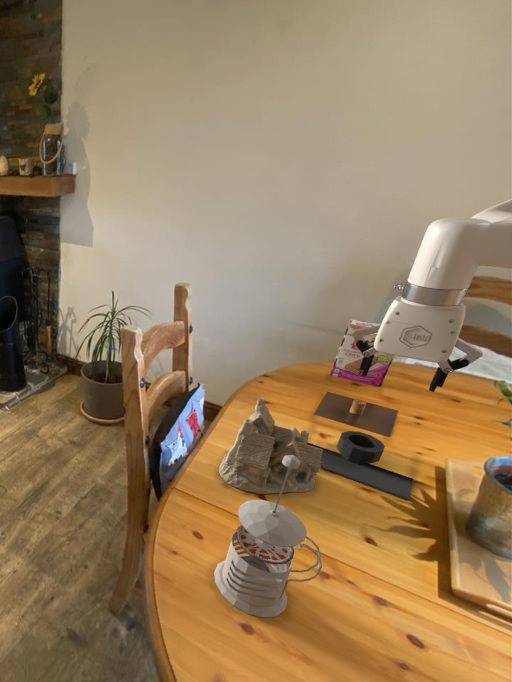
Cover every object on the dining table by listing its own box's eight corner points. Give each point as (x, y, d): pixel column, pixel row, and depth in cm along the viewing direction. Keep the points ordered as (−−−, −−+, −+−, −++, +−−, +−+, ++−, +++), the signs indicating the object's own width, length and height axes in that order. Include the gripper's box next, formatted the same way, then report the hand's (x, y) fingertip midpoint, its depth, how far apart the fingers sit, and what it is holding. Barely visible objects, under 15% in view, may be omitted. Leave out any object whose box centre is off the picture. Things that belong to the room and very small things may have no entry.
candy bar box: (328, 379, 115) (347, 324, 108) (331, 372, 119) (349, 318, 111) (380, 391, 108) (404, 333, 101) (382, 383, 112) (405, 327, 104)
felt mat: (418, 453, 87) (419, 452, 87) (408, 500, 76) (409, 499, 76) (315, 421, 99) (316, 420, 98) (294, 458, 88) (295, 456, 88)
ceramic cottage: (207, 473, 85) (228, 412, 78) (240, 440, 94) (261, 384, 87) (293, 519, 75) (325, 454, 68) (320, 477, 84) (351, 417, 77)
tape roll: (380, 453, 87) (386, 440, 85) (375, 470, 83) (381, 456, 81) (339, 440, 92) (344, 427, 90) (332, 455, 87) (337, 442, 86)
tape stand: (396, 414, 99) (403, 399, 97) (388, 441, 91) (395, 426, 89) (325, 395, 108) (330, 381, 106) (312, 418, 100) (317, 403, 98)
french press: (217, 549, 69) (249, 426, 58) (300, 578, 64) (354, 449, 52) (210, 598, 62) (246, 468, 50) (304, 636, 56) (368, 500, 45)
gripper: (364, 292, 75) (337, 375, 83) (508, 309, 63) (461, 404, 71) (371, 282, 79) (344, 361, 87) (507, 296, 68) (462, 387, 76)
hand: (397, 380), depth 79 cm, fingers open, 9 cm apart
